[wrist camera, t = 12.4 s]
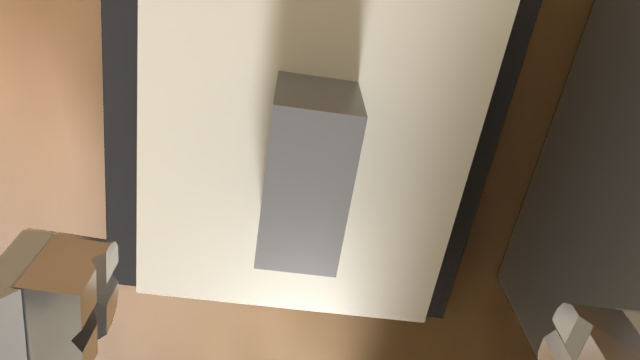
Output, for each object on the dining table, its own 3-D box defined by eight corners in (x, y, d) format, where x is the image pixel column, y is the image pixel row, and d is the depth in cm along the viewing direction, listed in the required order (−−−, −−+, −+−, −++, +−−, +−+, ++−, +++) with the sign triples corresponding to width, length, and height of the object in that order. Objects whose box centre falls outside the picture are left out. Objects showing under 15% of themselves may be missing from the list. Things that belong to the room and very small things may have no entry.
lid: (502, -40, 18) (574, -15, 13) (413, 283, 23) (441, 384, 19) (159, -96, 17) (100, -90, 12) (152, 254, 23) (110, 353, 18)
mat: (563, -94, 18) (571, -93, 17) (439, 308, 25) (442, 318, 24) (103, -173, 16) (96, -175, 16) (112, 274, 24) (107, 282, 23)
